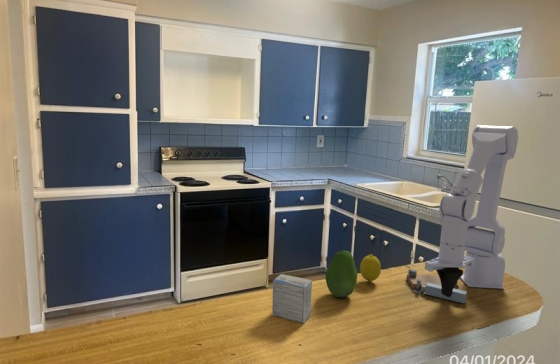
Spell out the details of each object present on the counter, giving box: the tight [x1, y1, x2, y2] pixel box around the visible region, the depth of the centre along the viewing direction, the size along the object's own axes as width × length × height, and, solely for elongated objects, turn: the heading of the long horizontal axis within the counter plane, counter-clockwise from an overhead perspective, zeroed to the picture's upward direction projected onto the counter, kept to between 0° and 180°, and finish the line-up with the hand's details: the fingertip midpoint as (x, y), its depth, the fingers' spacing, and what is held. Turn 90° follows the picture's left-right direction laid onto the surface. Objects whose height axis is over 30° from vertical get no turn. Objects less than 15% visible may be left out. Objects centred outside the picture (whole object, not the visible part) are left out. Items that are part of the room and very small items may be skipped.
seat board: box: [406, 268, 460, 290], centre depth 111 cm, size 12×7×3 cm, turn 86°
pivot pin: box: [412, 279, 425, 295], centre depth 106 cm, size 3×3×3 cm
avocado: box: [325, 250, 358, 299], centre depth 101 cm, size 8×8×12 cm
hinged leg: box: [421, 283, 468, 304], centre depth 103 cm, size 11×2×2 cm, turn 59°
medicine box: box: [271, 273, 313, 324], centre depth 91 cm, size 8×4×9 cm, turn 65°
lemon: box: [359, 253, 382, 283], centre depth 111 cm, size 6×6×8 cm
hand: (446, 295), depth 101 cm, fingers closed, pressing on hinged leg
